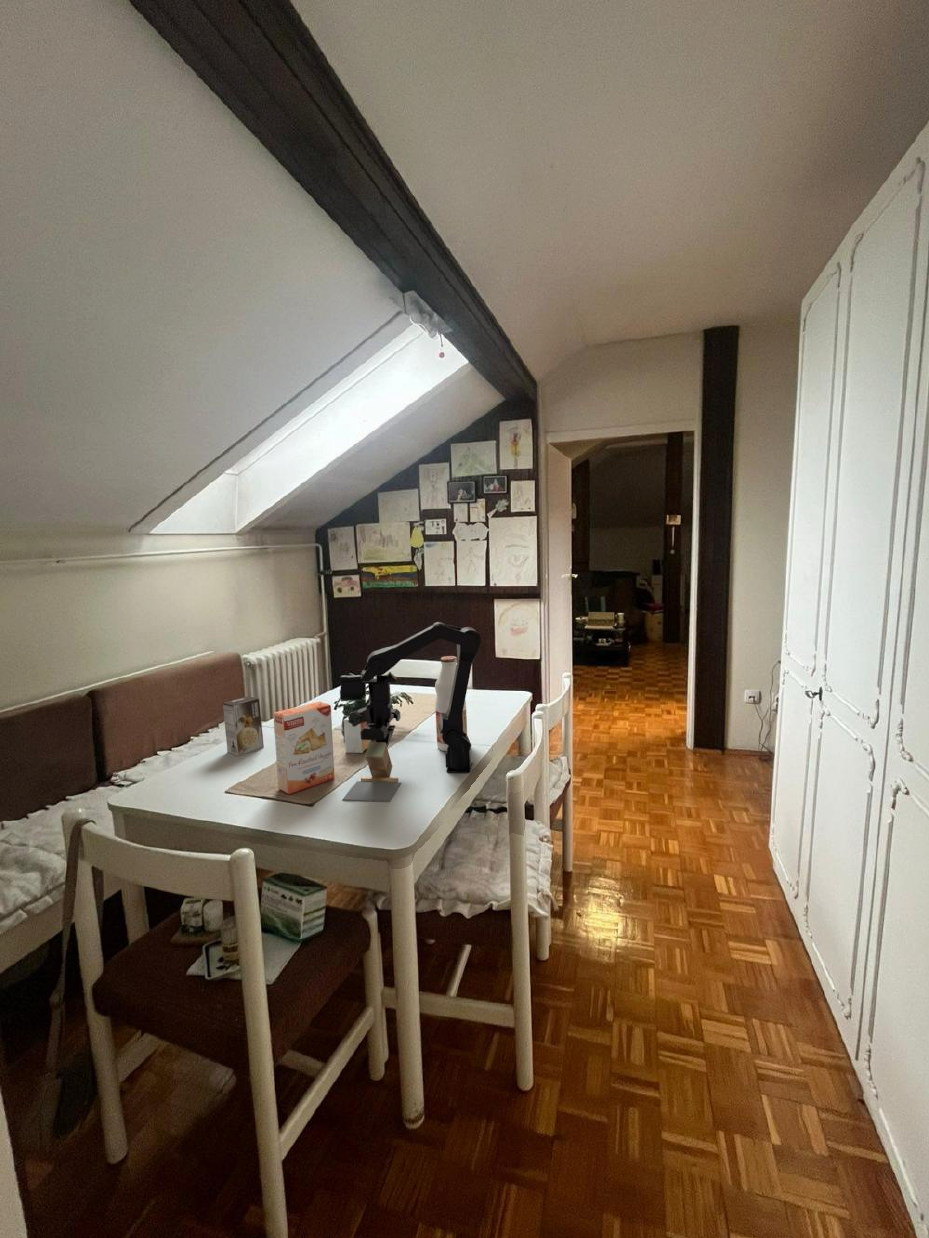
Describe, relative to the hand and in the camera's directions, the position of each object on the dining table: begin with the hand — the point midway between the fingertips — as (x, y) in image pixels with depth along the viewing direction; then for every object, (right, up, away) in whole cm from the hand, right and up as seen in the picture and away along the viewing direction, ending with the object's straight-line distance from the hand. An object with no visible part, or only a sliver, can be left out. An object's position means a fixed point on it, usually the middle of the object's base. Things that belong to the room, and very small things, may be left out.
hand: (383, 754), depth 159 cm
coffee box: (-47, -5, +25) cm, 53 cm away
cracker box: (-20, -7, -3) cm, 21 cm away
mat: (-1, -7, -10) cm, 12 cm away
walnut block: (0, -5, -1) cm, 5 cm away
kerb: (0, -7, -3) cm, 7 cm away
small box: (-11, -4, +23) cm, 25 cm away
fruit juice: (+18, -3, +21) cm, 28 cm away
